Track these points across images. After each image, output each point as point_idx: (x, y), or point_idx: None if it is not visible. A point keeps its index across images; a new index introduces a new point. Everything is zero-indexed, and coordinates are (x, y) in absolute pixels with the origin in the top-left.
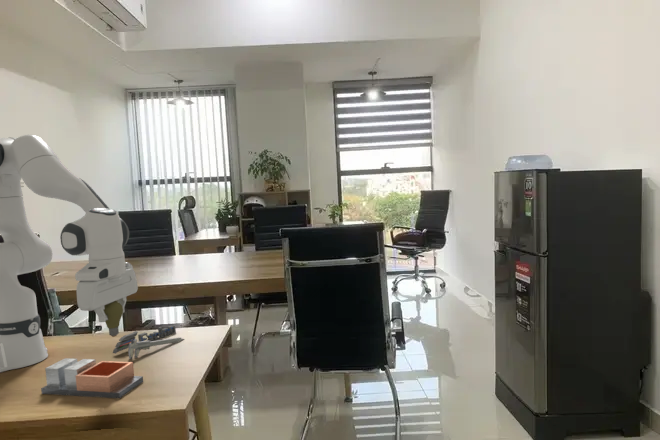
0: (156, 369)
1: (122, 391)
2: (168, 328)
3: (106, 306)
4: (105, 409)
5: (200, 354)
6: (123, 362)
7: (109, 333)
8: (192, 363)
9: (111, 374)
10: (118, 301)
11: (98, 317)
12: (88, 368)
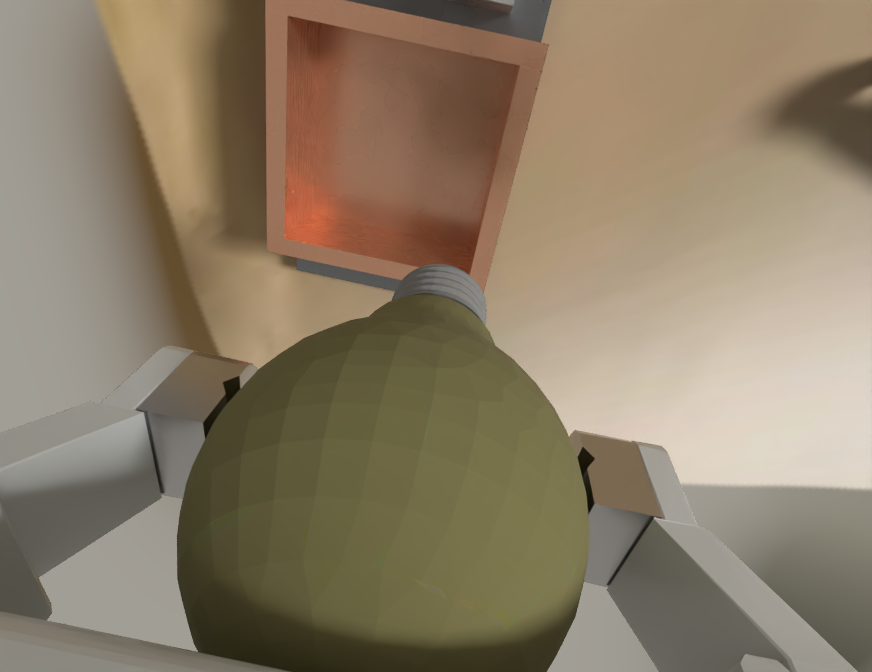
0: (621, 306)
1: (319, 273)
2: None
3: (188, 610)
4: (210, 242)
5: (762, 447)
6: (486, 240)
7: (402, 284)
8: (648, 437)
9: (304, 249)
10: (764, 641)
11: (124, 383)
12: (398, 12)
